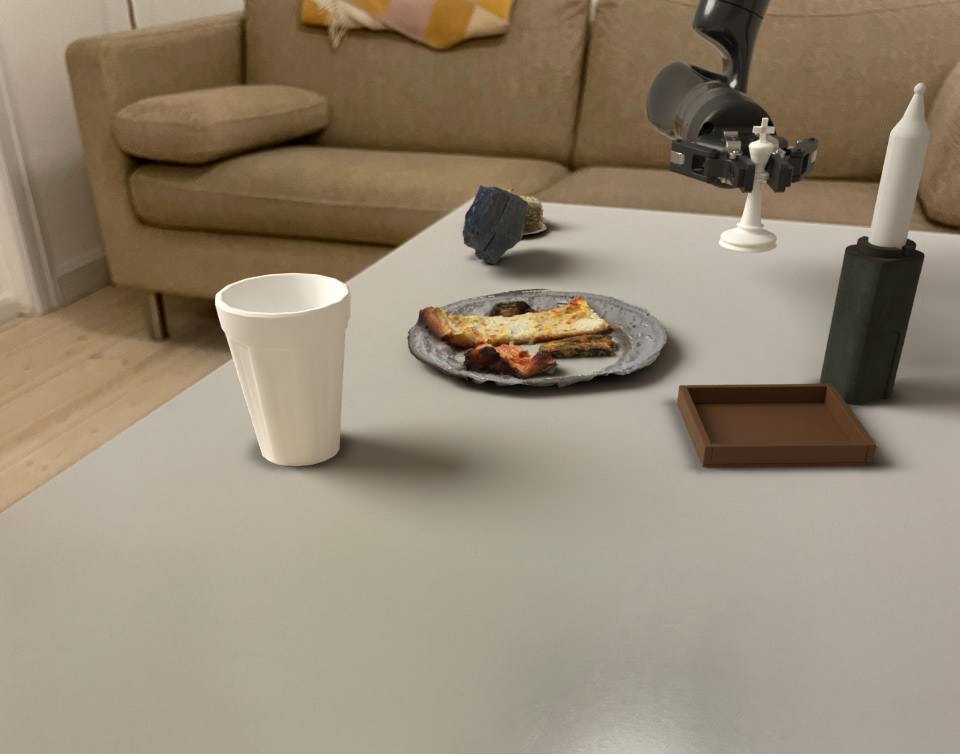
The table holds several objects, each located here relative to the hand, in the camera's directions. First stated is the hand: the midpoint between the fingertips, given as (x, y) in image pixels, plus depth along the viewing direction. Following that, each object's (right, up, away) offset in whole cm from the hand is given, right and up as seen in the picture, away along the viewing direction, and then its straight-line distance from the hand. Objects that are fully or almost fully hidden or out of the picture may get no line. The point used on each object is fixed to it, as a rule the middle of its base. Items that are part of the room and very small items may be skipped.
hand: (766, 179), depth 85 cm
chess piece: (0, -3, +6) cm, 7 cm away
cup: (-38, -23, 0) cm, 44 cm away
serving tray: (0, -21, +1) cm, 21 cm away
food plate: (-18, -10, +17) cm, 27 cm away
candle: (+10, -16, +8) cm, 21 cm away
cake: (-19, +17, +54) cm, 60 cm away
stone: (-21, +8, +42) cm, 47 cm away
